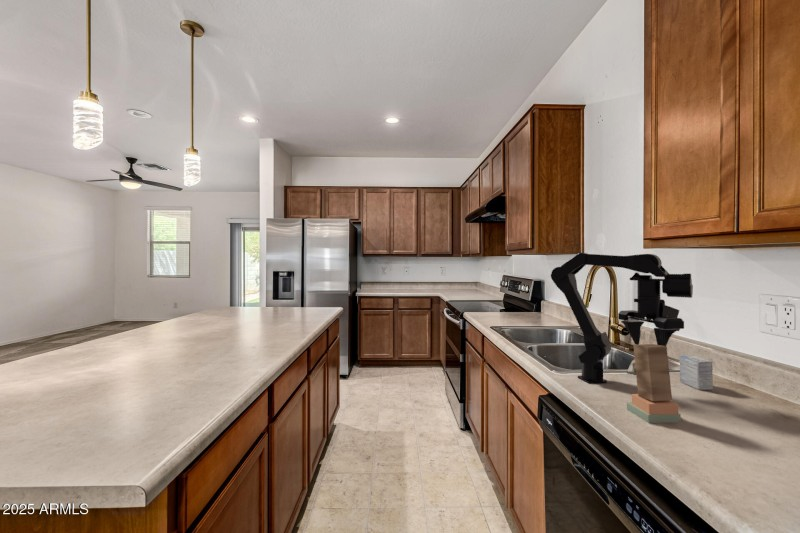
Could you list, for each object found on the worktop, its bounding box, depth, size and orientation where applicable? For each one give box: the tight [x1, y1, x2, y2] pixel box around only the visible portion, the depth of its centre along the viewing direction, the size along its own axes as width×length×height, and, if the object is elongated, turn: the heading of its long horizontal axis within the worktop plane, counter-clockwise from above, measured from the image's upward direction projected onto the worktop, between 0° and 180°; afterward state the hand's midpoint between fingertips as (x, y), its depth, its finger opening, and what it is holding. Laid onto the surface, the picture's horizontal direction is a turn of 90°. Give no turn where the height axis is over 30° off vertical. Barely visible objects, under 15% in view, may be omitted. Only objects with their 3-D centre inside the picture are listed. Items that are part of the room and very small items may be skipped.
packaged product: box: [626, 358, 636, 375], centre depth 133 cm, size 18×5×10 cm
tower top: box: [631, 393, 679, 415], centre depth 93 cm, size 7×7×2 cm
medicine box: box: [679, 354, 714, 391], centre depth 115 cm, size 8×4×9 cm, turn 179°
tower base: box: [626, 402, 681, 424], centre depth 93 cm, size 8×8×2 cm
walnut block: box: [633, 343, 673, 401], centre depth 93 cm, size 5×5×13 cm
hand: (648, 347), depth 111 cm, fingers open, 9 cm apart
